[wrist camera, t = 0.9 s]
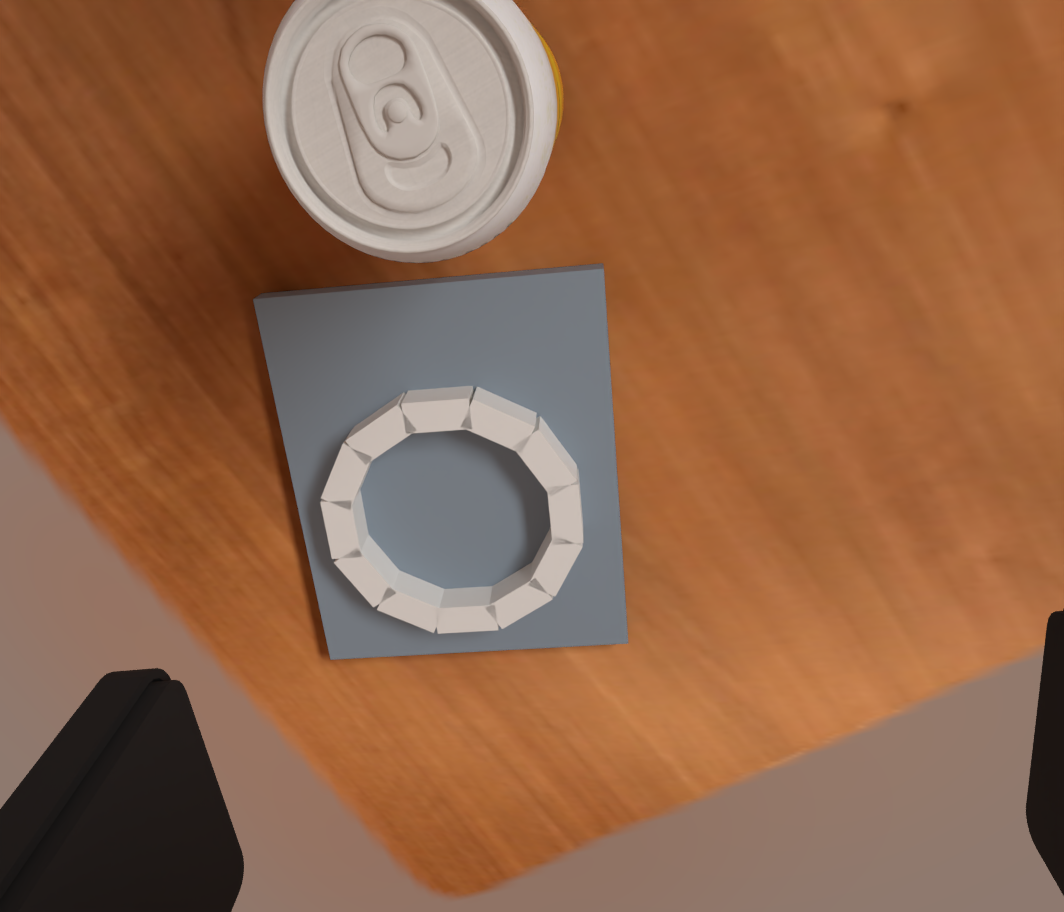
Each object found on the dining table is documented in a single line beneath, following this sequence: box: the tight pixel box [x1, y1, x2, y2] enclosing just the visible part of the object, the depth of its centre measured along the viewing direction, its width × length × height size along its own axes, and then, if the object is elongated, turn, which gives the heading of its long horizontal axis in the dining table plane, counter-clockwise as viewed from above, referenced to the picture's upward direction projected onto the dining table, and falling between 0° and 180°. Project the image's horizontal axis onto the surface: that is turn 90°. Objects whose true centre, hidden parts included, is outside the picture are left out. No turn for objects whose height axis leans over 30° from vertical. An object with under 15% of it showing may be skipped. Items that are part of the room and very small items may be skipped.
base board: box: [253, 264, 628, 660], centre depth 36 cm, size 16×13×2 cm
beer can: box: [263, 0, 564, 263], centre depth 25 cm, size 6×6×15 cm
